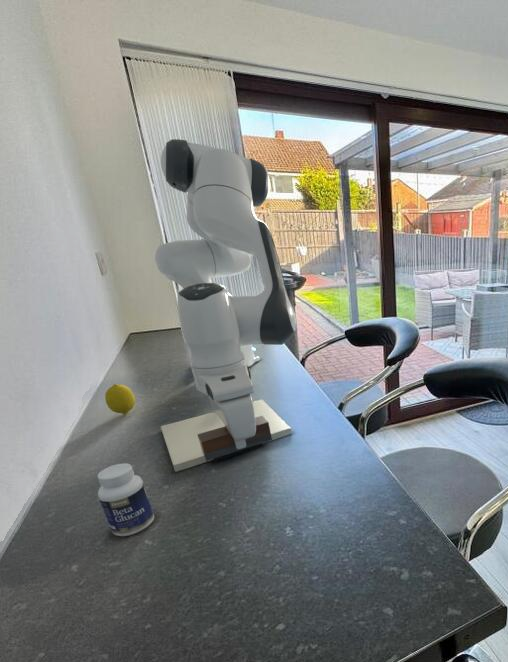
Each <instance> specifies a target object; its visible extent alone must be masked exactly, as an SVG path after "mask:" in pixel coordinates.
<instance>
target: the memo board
mask: <svg viewBox="0 0 508 662" xmlns="http://www.w3.org/2000/svg"><path fill="white" fill-rule="evenodd" d="M252 401H253V400H252ZM253 406H254V414H255V418H256V417H259V416H263V417H264V418H265V419H266V420H267V421H268V422H269V427H270V433H271V437H272V440H270V441H267V442H264V443H262V444H266V443H268V442H272V441H274V440H275V441H276V440H278V439H280V438H283V437H287V436H289V435H292V428H291V427H290V426H289V424H288V423H286V421H284V420H283V418H281V416H280V415H279V414H277V412H275V411H274V409H272V408H271V406H269V405H268V404H267V403H266V401H264V399H263V398H262V399H258V400H254V401H253ZM224 426H225V425H224V424H223V422H222V421H221V419H220V418H219V416H218V415H217V413H216V412H215V411H213V412H208V413H205V414H202V415H198V416H194V417H190V418H186V419H182V420H179V421H175V422H171V423H168V424H164V425H161V426H160V430H161V433H162V435H163V440H164V442H165V444H166V449H167V451H168V454H169V458H170V461H171V463H172V467H173V469H174V472H175V473H177V472H180V471H183V470H187V469H190V468H192V467H195V466H198V465H202V464H204V463H207V462H211V461H214V459H211V460H208V461H206V459H205V457H204V455H203V453H202V449H201V445H200V442H199V438H198V434H200V433H204V432H207V431H211V430H214V429H218V428H221V427H224Z"/></svg>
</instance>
